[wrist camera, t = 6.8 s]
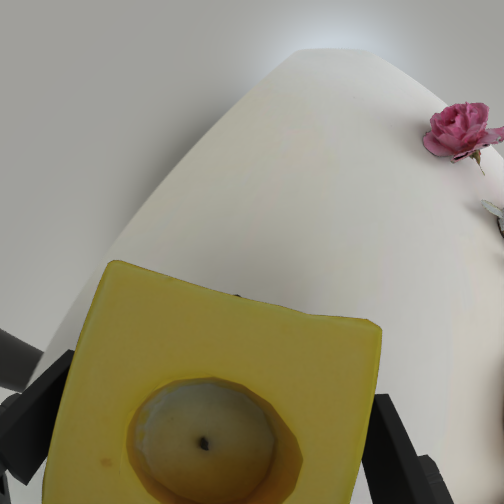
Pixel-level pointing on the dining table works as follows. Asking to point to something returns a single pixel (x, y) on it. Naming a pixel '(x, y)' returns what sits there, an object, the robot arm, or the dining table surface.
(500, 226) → the ice cream bar
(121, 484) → the candle
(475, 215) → the dining table surface
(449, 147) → the flower
